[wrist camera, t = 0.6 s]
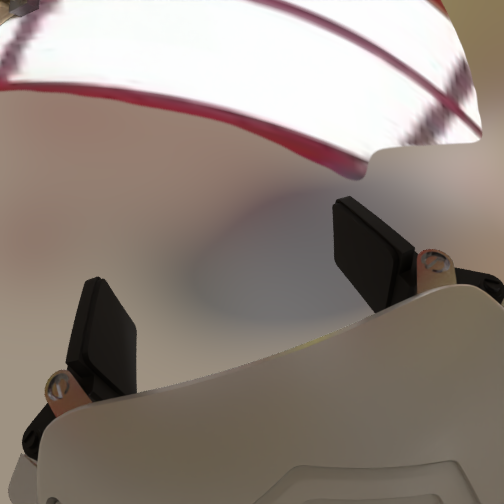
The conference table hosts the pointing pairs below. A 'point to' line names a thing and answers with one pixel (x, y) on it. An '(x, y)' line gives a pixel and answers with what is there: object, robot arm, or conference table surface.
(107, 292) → the robot arm
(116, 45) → the conference table surface
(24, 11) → the tong hinge
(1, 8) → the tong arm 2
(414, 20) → the conference table surface
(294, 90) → the conference table surface
